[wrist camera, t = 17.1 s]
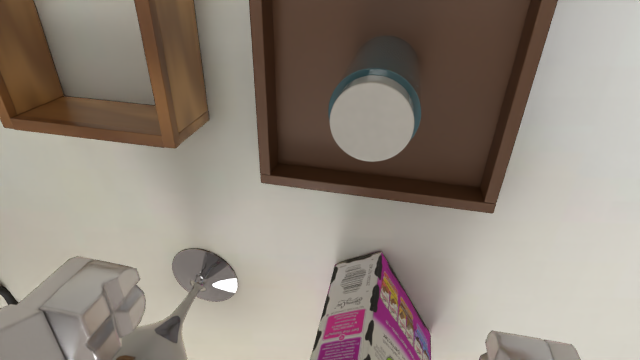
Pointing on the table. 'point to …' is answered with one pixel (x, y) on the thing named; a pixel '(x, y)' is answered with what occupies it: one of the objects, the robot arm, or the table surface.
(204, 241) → the table surface
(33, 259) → the table surface
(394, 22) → the tray
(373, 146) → the salt shaker
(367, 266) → the candy bar box
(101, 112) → the open square wooden box
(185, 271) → the wine glass
